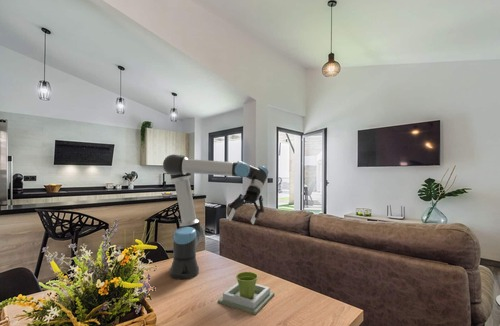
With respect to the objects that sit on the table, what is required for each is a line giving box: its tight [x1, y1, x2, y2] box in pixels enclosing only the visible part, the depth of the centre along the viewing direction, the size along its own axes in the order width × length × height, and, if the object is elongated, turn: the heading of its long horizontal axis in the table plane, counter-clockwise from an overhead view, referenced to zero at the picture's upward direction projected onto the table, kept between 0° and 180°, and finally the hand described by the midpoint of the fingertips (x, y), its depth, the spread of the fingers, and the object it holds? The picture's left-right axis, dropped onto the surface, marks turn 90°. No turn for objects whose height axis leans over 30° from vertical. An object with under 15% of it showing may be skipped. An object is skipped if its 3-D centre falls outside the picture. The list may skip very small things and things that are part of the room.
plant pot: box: [235, 271, 259, 299], centre depth 112 cm, size 9×9×9 cm
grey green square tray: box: [217, 282, 275, 315], centre depth 112 cm, size 18×18×4 cm
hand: (240, 221), depth 130 cm, fingers open, 13 cm apart
